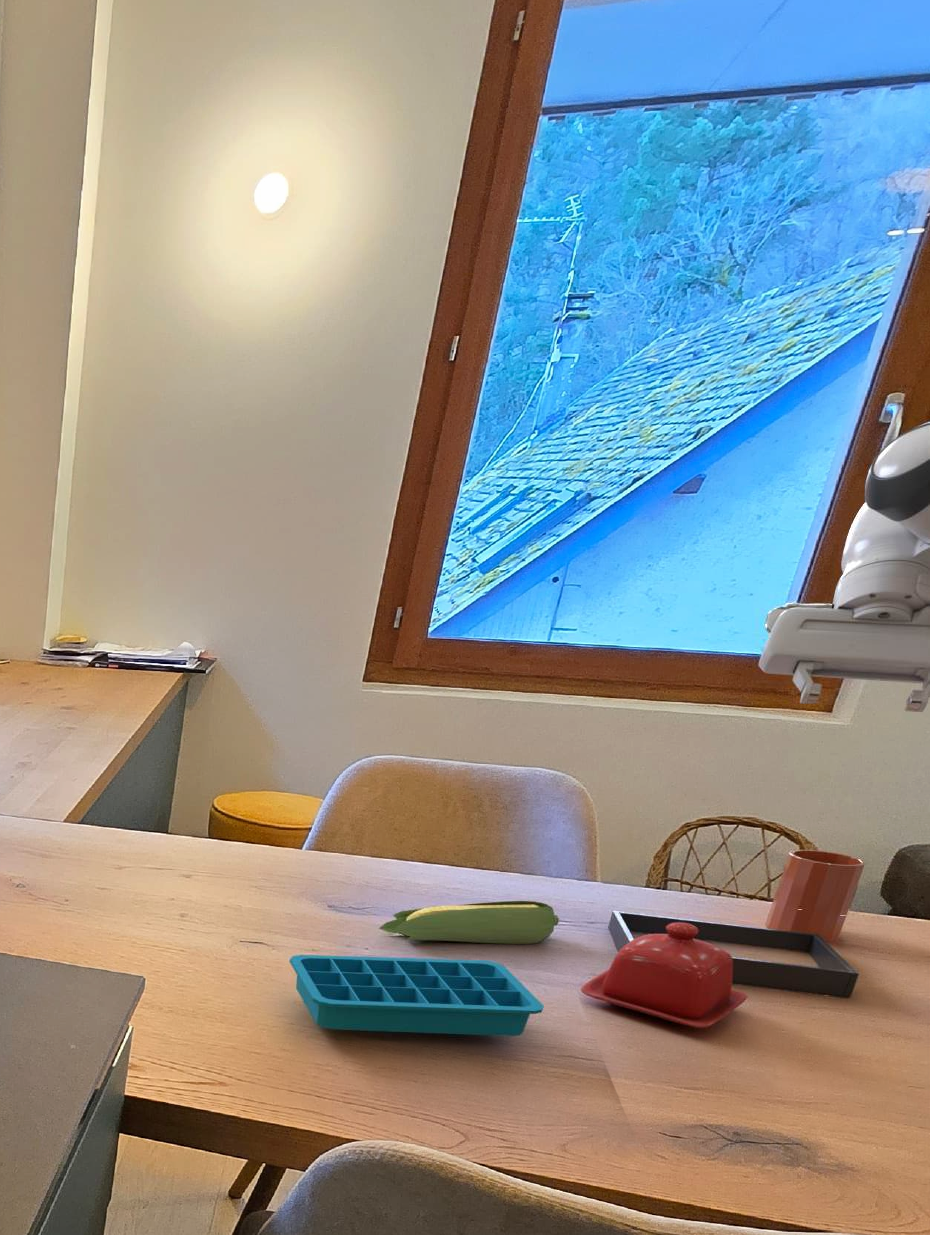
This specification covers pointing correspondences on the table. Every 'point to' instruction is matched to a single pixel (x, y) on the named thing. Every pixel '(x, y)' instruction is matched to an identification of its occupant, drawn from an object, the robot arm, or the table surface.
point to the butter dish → (670, 978)
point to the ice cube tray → (413, 995)
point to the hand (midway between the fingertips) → (861, 704)
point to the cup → (815, 893)
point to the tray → (822, 980)
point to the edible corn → (478, 922)
